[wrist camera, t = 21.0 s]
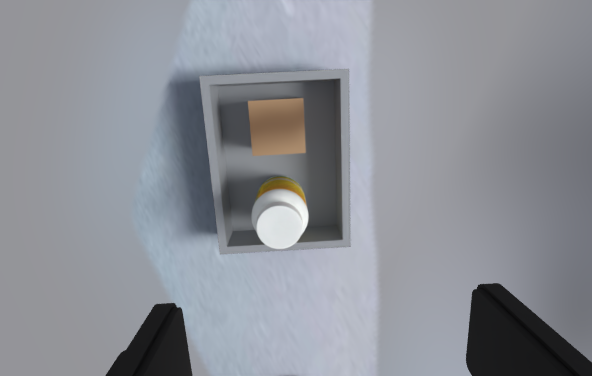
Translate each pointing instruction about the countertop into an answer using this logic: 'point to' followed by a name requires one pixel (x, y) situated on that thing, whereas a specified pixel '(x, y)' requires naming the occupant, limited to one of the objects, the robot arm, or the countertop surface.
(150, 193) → the countertop surface
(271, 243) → the supplement bottle
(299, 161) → the tote
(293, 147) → the walnut cube
